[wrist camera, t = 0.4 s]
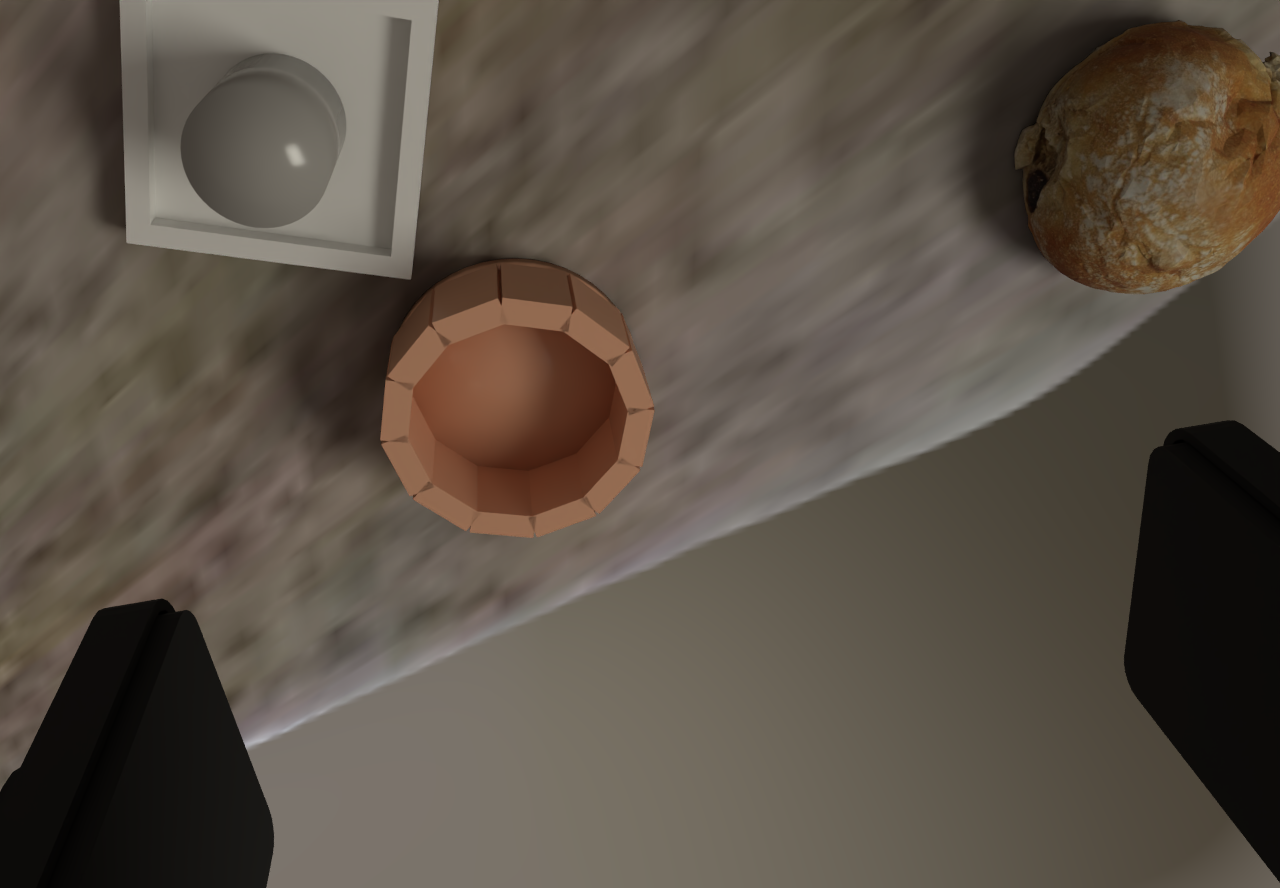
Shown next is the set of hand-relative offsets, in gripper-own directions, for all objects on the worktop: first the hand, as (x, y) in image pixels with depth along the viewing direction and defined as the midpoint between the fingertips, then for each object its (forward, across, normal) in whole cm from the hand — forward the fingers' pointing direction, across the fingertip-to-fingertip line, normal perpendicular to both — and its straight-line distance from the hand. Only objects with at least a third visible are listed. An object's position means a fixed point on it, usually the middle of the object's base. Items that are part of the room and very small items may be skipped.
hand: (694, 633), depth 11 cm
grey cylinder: (+33, +9, +1) cm, 34 cm away
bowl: (+33, +3, +12) cm, 36 cm away
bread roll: (+33, -23, +6) cm, 41 cm away
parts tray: (+33, +9, +1) cm, 34 cm away
